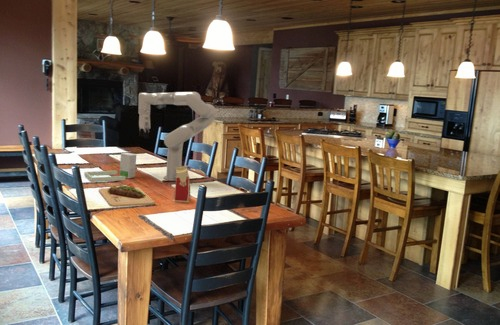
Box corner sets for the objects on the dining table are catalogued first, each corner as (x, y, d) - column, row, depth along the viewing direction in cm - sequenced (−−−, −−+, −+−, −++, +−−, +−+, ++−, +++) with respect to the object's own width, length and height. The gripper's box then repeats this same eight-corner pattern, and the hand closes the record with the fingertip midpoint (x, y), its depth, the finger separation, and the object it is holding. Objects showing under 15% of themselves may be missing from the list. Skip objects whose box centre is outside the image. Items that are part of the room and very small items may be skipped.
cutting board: (97, 191, 265) (98, 178, 264) (138, 189, 276) (138, 177, 275) (110, 208, 235) (111, 194, 234) (155, 205, 246) (156, 191, 245)
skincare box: (119, 176, 304) (119, 153, 301) (126, 175, 310) (127, 152, 307) (128, 178, 300) (129, 155, 297) (135, 177, 306) (136, 153, 303)
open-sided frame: (125, 180, 295) (125, 176, 295) (91, 181, 284) (91, 177, 283) (116, 174, 310) (116, 170, 309) (84, 175, 298) (84, 171, 298)
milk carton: (190, 198, 263) (192, 164, 260) (188, 202, 254) (190, 167, 251) (174, 197, 263) (175, 162, 259) (171, 201, 254) (173, 165, 250)
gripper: (154, 112, 299) (154, 139, 301) (145, 110, 313) (145, 135, 316) (143, 112, 295) (142, 139, 298) (134, 110, 309) (134, 136, 312)
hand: (144, 137), depth 307 cm, fingers open, 9 cm apart
